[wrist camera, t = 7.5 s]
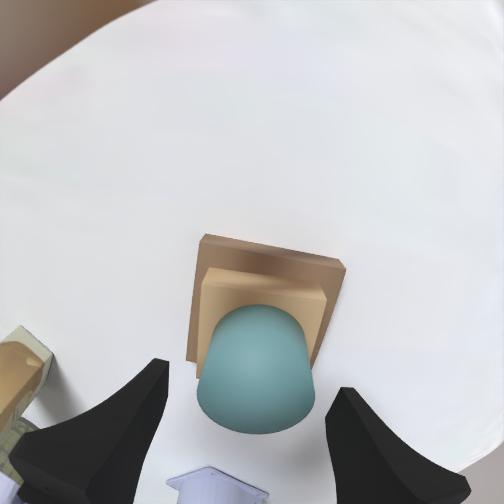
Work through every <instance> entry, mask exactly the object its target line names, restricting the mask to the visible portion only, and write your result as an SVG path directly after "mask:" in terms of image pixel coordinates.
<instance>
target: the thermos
mask: <svg viewBox="0 0 504 504" xmlns="http://www.w3.org/2000/svg"><path fill="white" fill-rule="evenodd" d="M35 430H39V428H38V427H36V426H35V425H34V424H32V423H31V422H29V421H28V420H26V419H24V418H23V417H19V419H18V420H17V421H16V423H15V424H14V425H13V427H12V428H11V430H10V431H9V432H8V434H7V435H6V436H5V438H4V439H3V441H2V442H1V443H0V471H1V472H3V473H4V474H5V475H7V476H8V477H10V478H11V479H13V480H14V481H16V482H17V483H18V484H19V485H20V486H21V485H22V484H23V482H24V480H23V479H22V478H21V477H20V475H19V474H18V473H17V472H16V470H15V469H14V468H13V466H12V465H11V463H10V462H9V458H8V455H9V454H10V452H11V451H12V449H13V448H14V446H15V445H16V443H17V442H18V440H19V439H20V438H21V437H22V435H23V434H24V433H26V432H31V431H35Z"/></svg>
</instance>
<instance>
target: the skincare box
mask: <svg viewBox="0 0 504 504" xmlns="http://www.w3.org/2000/svg"><path fill="white" fill-rule="evenodd" d="M52 356H53V353H52V352H51V351H49V350H48V349H47V348H46V347H45V346H44V345H42V344H41V343H40V342H39V341H38V340H37V339H36V338H35V337H33V336H32V335H31V334H30V333H29V332H28V331H27V330H26V329H25V328H24V327H22V326H19V327H18V328H17V329H15V330H14V331H13V332H12V333H11V334H10V335H8V336H7V337H6V338H5V339H4V340H3V341H2V342H0V443H1V442H2V441H3V439H4V438H5V436H6V435H7V434H8V432H9V431H10V430H11V428H12V427H13V425H14V424H15V423H16V421H17V420H18V419H19V417H20V416H21V415H22V413H23V412H24V411H25V409H26V408H27V407H28V406H29V404H30V403H31V402H32V400H33V399H34V398H35V397H36V395H37V394H38V393H39V392H40V390H41V389H42V388H43V387H44V385H45V382H46V379H47V375H48V372H49V368H50V364H51V360H52Z"/></svg>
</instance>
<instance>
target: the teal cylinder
mask: <svg viewBox="0 0 504 504" xmlns="http://www.w3.org/2000/svg"><path fill="white" fill-rule="evenodd" d="M197 399H198V403H199V405H200V407H201V409H202V410H203V412H204V413H205V414H206V415H207V416H208V417H209V418H210V419H211V420H213V421H214V422H216V423H217V424H219V425H221V426H223V427H225V428H227V429H230V430H233V431H236V432H241V433H247V434H269V433H275V432H279V431H282V430H285V429H288V428H290V427H292V426H294V425H296V424H297V423H299V422H300V421H302V420H303V419H304V418H305V417H306V416H307V415H308V414H309V412H310V411H311V409H312V407H313V405H314V401H315V391H314V385H313V379H312V373H311V367H310V361H309V356H308V350H307V344H306V339H305V334H304V331H303V329H302V327H301V325H300V324H299V322H298V321H297V320H296V319H295V318H294V317H293V316H292V315H290V314H289V313H288V312H286V311H284V310H282V309H279V308H277V307H274V306H270V305H262V304H254V305H247V306H242V307H239V308H236V309H234V310H232V311H230V312H229V313H227V314H226V315H225V316H223V317H222V318H221V319H220V320H219V322H218V323H217V325H216V326H215V328H214V331H213V334H212V337H211V341H210V345H209V348H208V352H207V355H206V359H205V362H204V366H203V369H202V373H201V376H200V380H199V384H198V388H197Z"/></svg>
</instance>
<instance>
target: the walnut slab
mask: <svg viewBox="0 0 504 504" xmlns="http://www.w3.org/2000/svg"><path fill="white" fill-rule="evenodd" d="M209 267H210V268H217V269H224V270H232V271H239V272H246V273H253V274H261V275H268V276H276V277H284V278H291V279H299V280H307V281H315V282H319V283H320V285H321V287H322V290H323V292H324V294H325V297H326V299H327V302H326V306H325V310H324V313H323V317H322V321H321V324H320V328H319V332H318V335H317V339H316V342H315V345H314V349H313V352H312V356H311V359H310V367H311V370H312V367H313V364H314V362H315V359H316V357H317V354H318V351H319V349H320V346H321V343H322V341H323V338H324V335H325V332H326V330H327V327H328V324H329V321H330V318H331V315H332V313H333V310H334V307H335V304H336V301H337V298H338V294H339V291H340V288H341V285H342V282H343V279H344V276H345V272H346V268H345V267H344V266H343V264H342V263H341V262H340V260H339V259H335V258H330V257H325V256H320V255H315V254H310V253H305V252H300V251H294V250H289V249H284V248H279V247H274V246H269V245H263V244H258V243H253V242H248V241H242V240H237V239H232V238H226V237H221V236H216V235H211V234H205V235H204V236H203V238H202V239H201V241H200V244H199V251H198V258H197V265H196V273H195V281H194V289H193V297H192V306H191V314H190V324H189V333H188V343H187V354H186V361H190V362H195V363H197V349H198V330H199V313H200V298H201V285H202V282H203V280H204V277H205V275H206V273H207V271H208V269H209Z"/></svg>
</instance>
